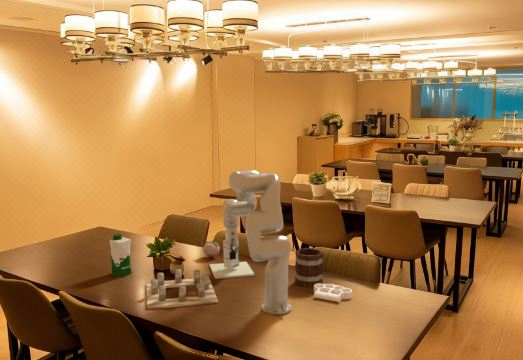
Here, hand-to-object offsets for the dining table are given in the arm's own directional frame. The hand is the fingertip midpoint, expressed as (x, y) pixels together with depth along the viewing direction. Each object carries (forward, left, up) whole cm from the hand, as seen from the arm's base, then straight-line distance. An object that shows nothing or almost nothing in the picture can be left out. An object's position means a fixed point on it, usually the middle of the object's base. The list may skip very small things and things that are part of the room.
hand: (231, 256), depth 255 cm
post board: (-25, +28, -8) cm, 38 cm away
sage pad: (0, 0, -8) cm, 8 cm away
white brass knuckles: (-43, -38, -8) cm, 58 cm away
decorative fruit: (+24, +7, -8) cm, 26 cm away
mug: (-22, -35, -8) cm, 42 cm away
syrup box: (0, 0, -6) cm, 6 cm away
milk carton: (+8, +55, -8) cm, 56 cm away
